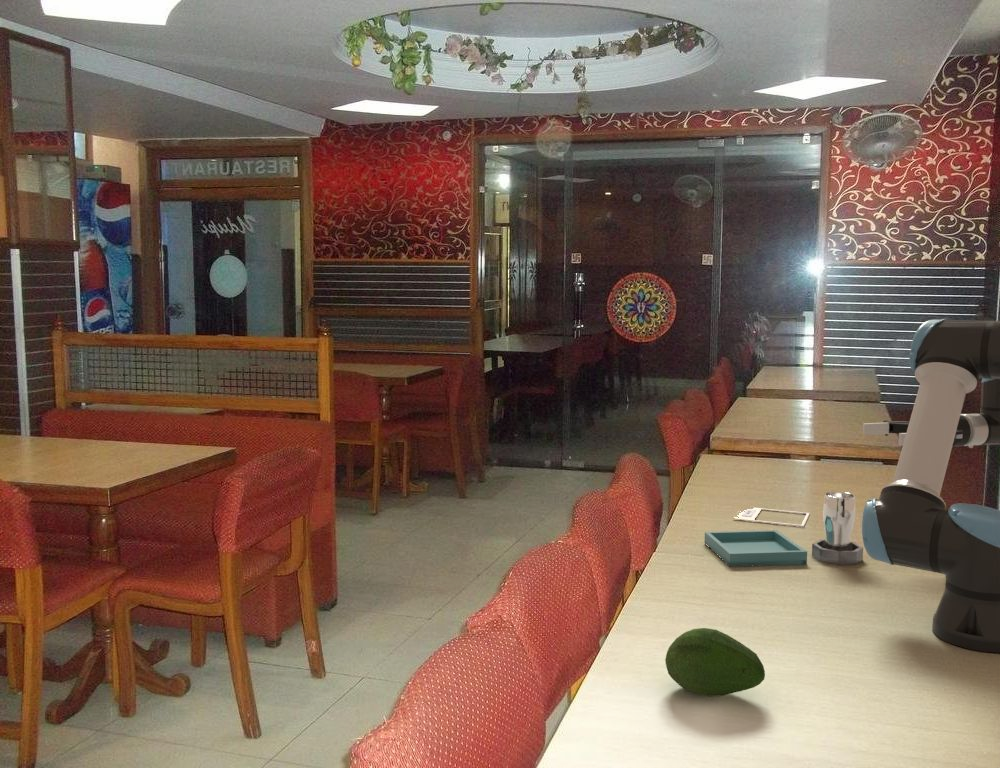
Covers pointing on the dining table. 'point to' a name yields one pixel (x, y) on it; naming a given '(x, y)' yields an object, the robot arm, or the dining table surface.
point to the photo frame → (753, 513)
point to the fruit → (713, 663)
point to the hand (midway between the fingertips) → (880, 434)
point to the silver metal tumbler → (838, 520)
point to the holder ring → (837, 554)
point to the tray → (755, 548)
